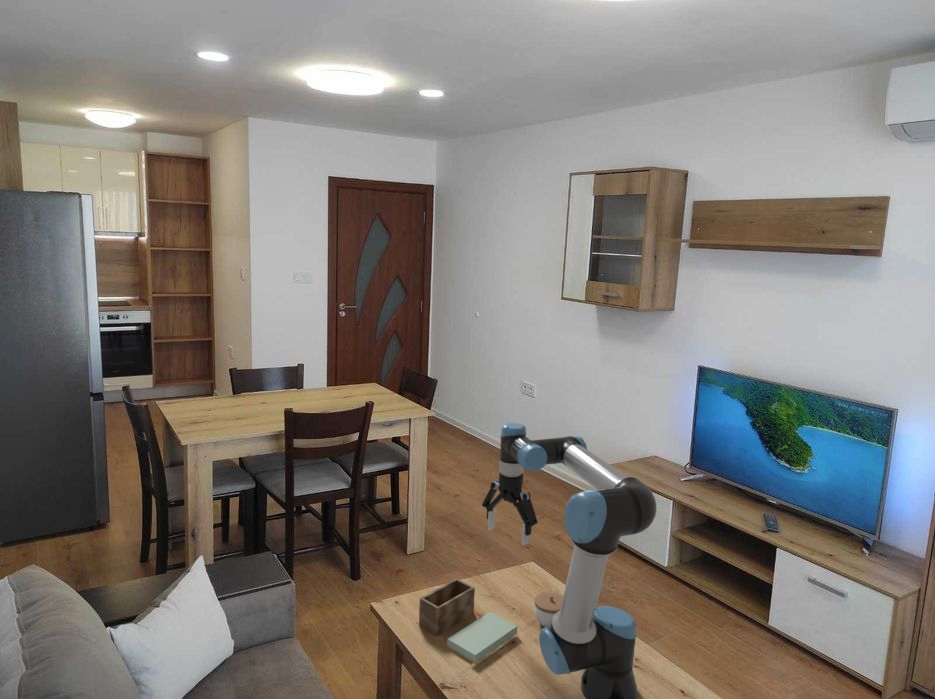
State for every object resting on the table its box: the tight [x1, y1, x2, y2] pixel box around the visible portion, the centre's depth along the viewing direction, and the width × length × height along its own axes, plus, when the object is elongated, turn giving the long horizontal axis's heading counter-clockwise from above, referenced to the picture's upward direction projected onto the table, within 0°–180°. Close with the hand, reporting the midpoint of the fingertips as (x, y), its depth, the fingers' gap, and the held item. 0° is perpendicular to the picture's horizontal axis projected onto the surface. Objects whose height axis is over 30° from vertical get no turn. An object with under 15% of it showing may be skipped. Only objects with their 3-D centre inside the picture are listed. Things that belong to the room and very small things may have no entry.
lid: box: [446, 611, 518, 664], centre depth 204 cm, size 20×11×4 cm, turn 139°
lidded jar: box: [534, 591, 564, 628], centre depth 215 cm, size 11×11×9 cm
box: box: [418, 578, 476, 637], centre depth 213 cm, size 17×8×10 cm, turn 138°
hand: (507, 536), depth 212 cm, fingers open, 13 cm apart
